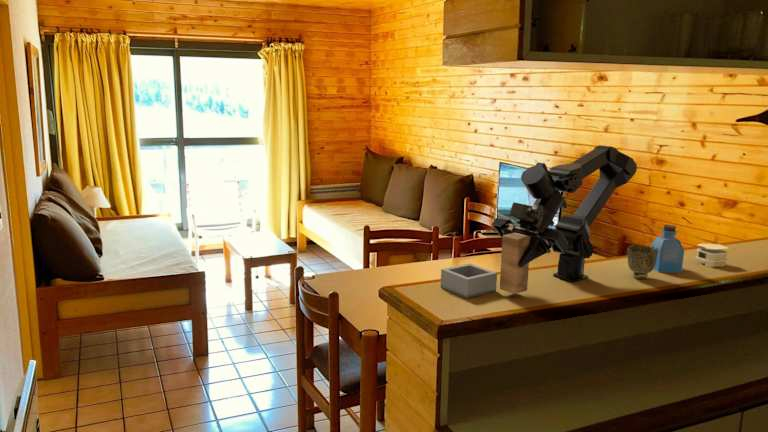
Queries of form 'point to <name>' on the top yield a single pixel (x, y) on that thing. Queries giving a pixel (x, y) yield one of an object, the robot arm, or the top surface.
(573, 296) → the top surface
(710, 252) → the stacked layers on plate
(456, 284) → the slate well
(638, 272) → the cup
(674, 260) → the perfume bottle
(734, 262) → the top surface
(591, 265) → the top surface
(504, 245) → the walnut block
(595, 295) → the top surface
